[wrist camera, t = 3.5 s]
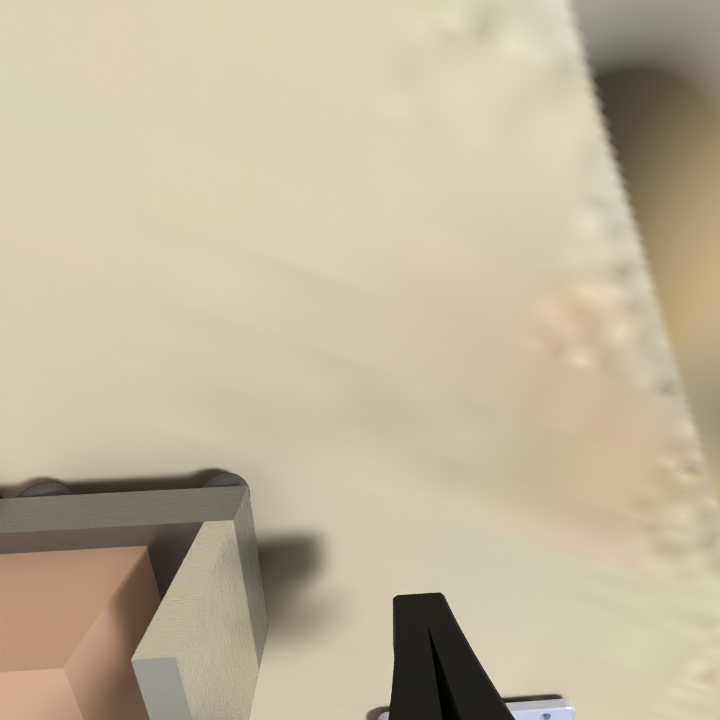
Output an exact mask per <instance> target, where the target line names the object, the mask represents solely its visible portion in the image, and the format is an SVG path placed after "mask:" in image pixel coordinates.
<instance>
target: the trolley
mask: <svg viewBox="0 0 720 720" xmlns="http://www.w3.org/2000/svg"><path fill="white" fill-rule="evenodd" d="M268 625H269V623H268V616H267V610H266V603H265V596H264V586H263V583H262V576H261V569H260V563H259V556H258V549H257V543H256V536H255V529H254V522H253V516H252V509H251V502H250V490H249V487H248V485H247V483H246V481H245V480H244V479H243V478H242V477H240V476H239V475H237V474H233V473H222V474H219V475H216V476H214V477H213V478H211V479H210V480H209V481H208V482H207V483H206V484H205V485H204V487H203V488H192V489H173V490H154V491H136V492H117V493H99V494H80V495H72V493H71V491H70V490H69V489H68V488H67V487H65V486H64V485H62V484H59V483H53V482H46V483H40V484H36V485H34V486H31V487H29V488H27V489H26V490H24V491H23V492H21V493H20V494H19V495H18V496H17V497H16V498H5V499H0V720H249V717H250V712H251V707H252V702H253V697H254V693H255V688H256V683H257V678H258V673H259V669H260V664H261V659H262V654H263V649H264V644H265V640H266V635H267V630H268Z"/></svg>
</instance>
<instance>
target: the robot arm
mask: <svg viewBox="0 0 720 720" xmlns="http://www.w3.org/2000/svg"><path fill="white" fill-rule="evenodd" d="M393 647H394V671H393V683H392V694H391V702H390V710H389V712H384V713H382V714H381V715H380V716H379V718H378V720H574V718H575V714H576V711H575V709H574V707H573V705H572V703H571V702H570V701H569V700H567V699H552V700H538V701H525V702H511V703H504V701H503V700H502V698H501V696H500V695H499V693H498V692H497V690H496V688H495V687H494V685H493V684H492V682H491V680H490V679H489V677H488V675H487V674H486V672H485V670H484V669H483V667H482V666H481V664H480V662H479V661H478V659H477V657H476V655H475V654H474V652H473V650H472V648H471V647H470V645H469V643H468V641H467V639H466V638H465V636H464V634H463V632H462V630H461V629H460V627H459V625H458V623H457V621H456V619H455V617H454V615H453V613H452V611H451V609H450V607H449V605H448V603H447V601H446V599H445V596H444V595H443V594H442V593H425V594H409V595H397V596H396V597H394V598H393Z"/></svg>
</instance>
